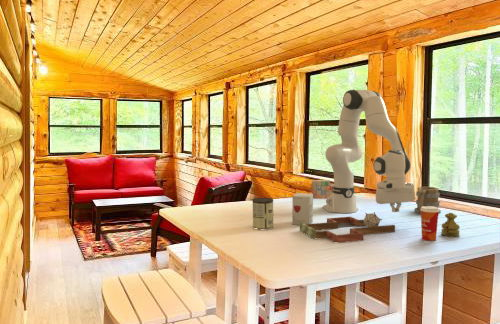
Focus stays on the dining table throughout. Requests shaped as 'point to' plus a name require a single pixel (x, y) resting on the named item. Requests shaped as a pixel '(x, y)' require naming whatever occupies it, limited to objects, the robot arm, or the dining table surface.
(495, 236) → the dining table surface
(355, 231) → the trap channel
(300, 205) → the supplement box
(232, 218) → the dining table surface
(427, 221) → the paper cup
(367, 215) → the game die
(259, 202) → the coffee can
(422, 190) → the tankard
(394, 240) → the dining table surface
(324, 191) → the stack of blocks
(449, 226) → the gold metal turned piece
